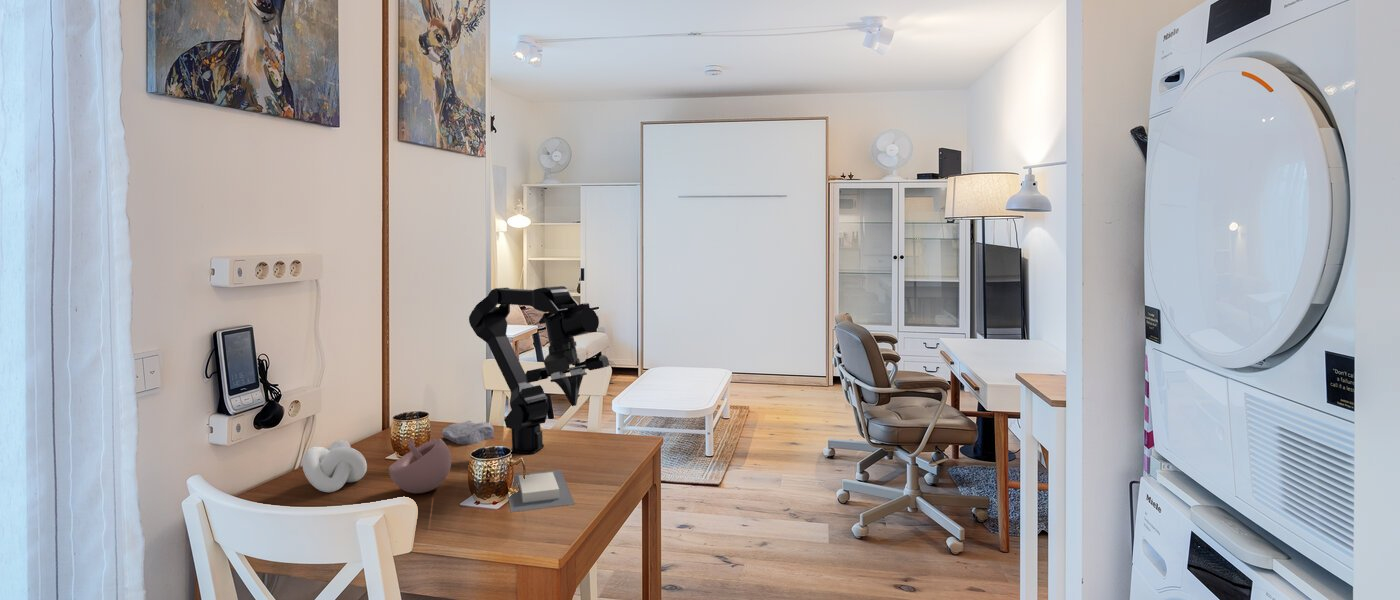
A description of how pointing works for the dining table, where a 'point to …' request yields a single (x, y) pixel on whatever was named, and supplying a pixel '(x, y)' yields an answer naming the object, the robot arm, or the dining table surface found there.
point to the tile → (538, 487)
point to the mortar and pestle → (422, 467)
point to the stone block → (468, 432)
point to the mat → (563, 500)
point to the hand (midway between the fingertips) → (574, 405)
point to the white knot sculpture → (333, 466)
